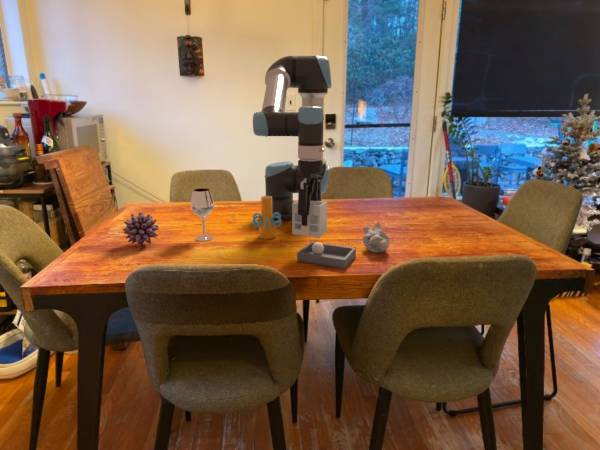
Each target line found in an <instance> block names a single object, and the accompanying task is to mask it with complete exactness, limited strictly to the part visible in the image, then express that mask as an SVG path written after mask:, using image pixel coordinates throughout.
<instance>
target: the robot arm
mask: <svg viewBox="0 0 600 450" xmlns="http://www.w3.org/2000/svg"><path fill="white" fill-rule="evenodd" d="M264 83H265V91H264V97H263V101H262V106H261V107H262V108H261V111H256V112H254V113H253V115H252V129H253V130H252V131H253V134H254V135H255V136H258V137H265V138H266V137H298V143H297V158H298V159H299V160H298V161H297V164H296V165H295V164H294V162H293V161H279V162H274V163H270V164H268V165H267V166H265V170H264V171H265V172H264V179H265V196H272V214H273V213H275V212H278V213H279V214H280V215H281V222H285V221H286V222H287V221H291V220H292V203H294V202H295V201H294V194H298V195H297V196H298V197H297V198H298V199H297V201H298V215H301V235H300V236H302V235H306V236H305V237H310V215H309V208H310V201H311V200H313V201H322V194H324V193H325V192H326V191H327V188H328V185H329V184H328V183H329V175H330V166H329V165H328V164H327V161H326V160H325V159H324V157H323V155H324V154H323V153H324V152H325V149H324V122H325V116H324V106H325V105H324V99H325V97H326V96H327V94H328V92H329V91H328V89H331V88H332V75H331V65H330V59H329V58H328V57H327V56H323V55H316V54H315V55H287V56H284V57H281V58H279V59H277V60H276V61H274V62H273V63H272V64H271V65H270V66H269V67H268V69H267V70H266V72H265V77H264ZM291 88H293V89H297V93H298V95H299V96H300V97H301V106H300V107H299V108H298V111H294V112H293V111H289V112H288V111H285V109H286V101H287V92H288V89H291ZM274 216H278V215H277V214H276V215H274ZM273 220H274V221H275V222H276V221H277V220H278V218H274V219H273Z"/></svg>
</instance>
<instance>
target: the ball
mask: <svg viewBox="0 0 600 450" xmlns="http://www.w3.org/2000/svg"><path fill="white" fill-rule="evenodd" d="M323 244H324V243H323ZM323 244H322V243H321V242H317V241H316V243H314V244H313V246H312V252H313V253H314V254H316V255H320V254H322V253H323V251H324V246H323Z"/></svg>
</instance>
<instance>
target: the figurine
mask: <svg viewBox="0 0 600 450" xmlns="http://www.w3.org/2000/svg"><path fill="white" fill-rule="evenodd" d="M362 230H363V232H364V234H365V235H363V237H362V242H363V245H364V247H365V248H366V249H367V250H368V251H369V252H370V253H374V254H377V253H378V254H379V253H383V252H386V251H387V250H388V249H389V248H390V237H389V235H388V233H386V232H385V230H384V229H381V222H379V221H377V222H376V223H375V225H374V227H373V228H371V227H370V226H368V225H366V226H364V227H363V228H362Z"/></svg>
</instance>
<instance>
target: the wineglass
mask: <svg viewBox="0 0 600 450" xmlns="http://www.w3.org/2000/svg"><path fill="white" fill-rule="evenodd" d="M214 208H215V202H214V199H213V194H212V193H211V190H210V188H204V187H202V188H195V189H193V190H192V194H191V198H190V209H191V211H192V212H193V213H194V214H195V215H197V216H198V217H199V218H200V220H201V226H202V235H198V236H197V237H195V241H197V242H210V241H211V240H214V236H213V235H207V234H206V224H205V219H206V218H207V217H208V216H209V215H210V214H211V213H212V212H213V211H214Z"/></svg>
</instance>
